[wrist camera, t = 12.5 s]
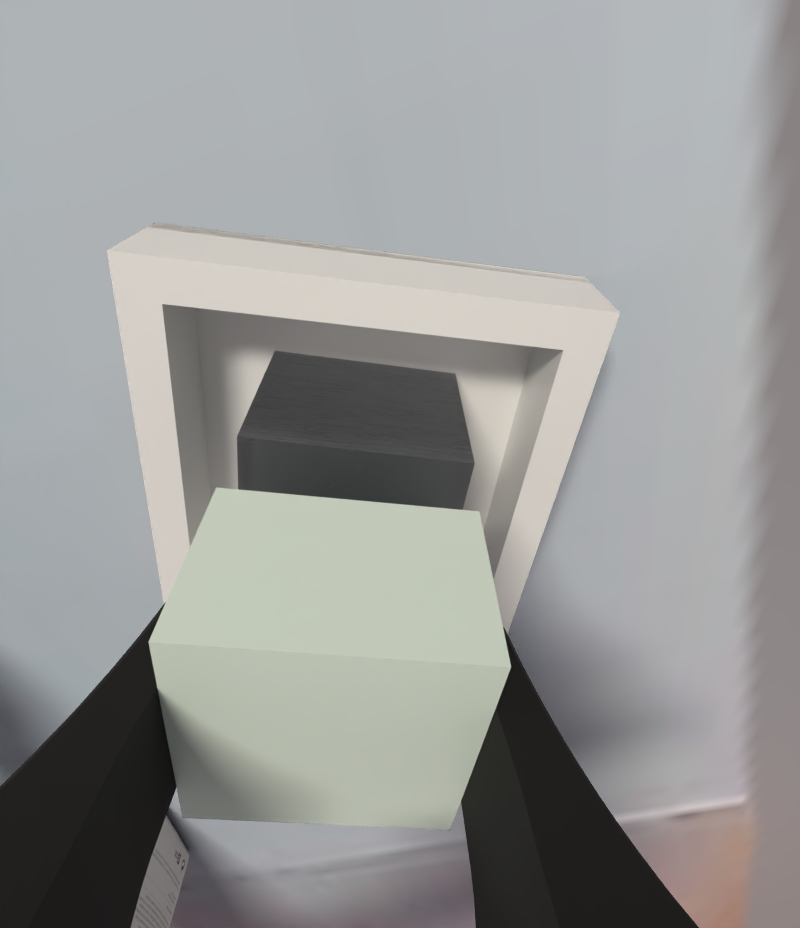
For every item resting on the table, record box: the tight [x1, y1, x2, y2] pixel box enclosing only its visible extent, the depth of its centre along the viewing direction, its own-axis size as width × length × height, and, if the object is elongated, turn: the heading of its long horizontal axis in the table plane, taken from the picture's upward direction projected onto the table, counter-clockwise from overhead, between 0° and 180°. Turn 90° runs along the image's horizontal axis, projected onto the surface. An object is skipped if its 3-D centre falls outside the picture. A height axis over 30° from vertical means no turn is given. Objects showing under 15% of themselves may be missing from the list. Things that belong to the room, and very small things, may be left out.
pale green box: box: [149, 488, 511, 830], centre depth 11 cm, size 5×5×4 cm
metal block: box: [237, 351, 475, 510], centre depth 15 cm, size 5×5×4 cm
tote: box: [107, 223, 620, 634], centre depth 16 cm, size 11×11×3 cm
